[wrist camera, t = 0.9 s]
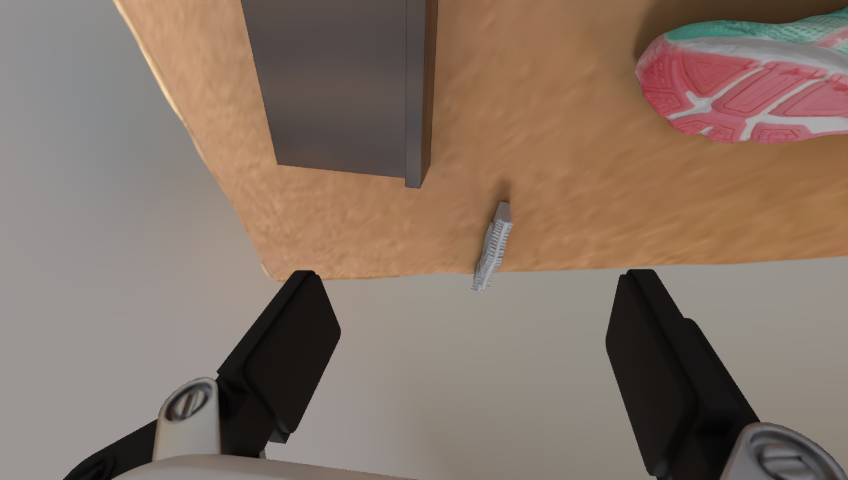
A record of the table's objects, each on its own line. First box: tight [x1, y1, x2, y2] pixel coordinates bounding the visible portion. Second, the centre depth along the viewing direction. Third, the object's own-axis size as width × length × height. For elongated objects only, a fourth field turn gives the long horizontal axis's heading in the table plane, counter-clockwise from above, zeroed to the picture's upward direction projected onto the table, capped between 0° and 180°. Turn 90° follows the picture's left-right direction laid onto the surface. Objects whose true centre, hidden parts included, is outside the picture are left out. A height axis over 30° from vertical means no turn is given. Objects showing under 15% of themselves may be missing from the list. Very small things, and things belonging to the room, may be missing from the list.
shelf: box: [241, 0, 438, 188], centre depth 29 cm, size 24×16×6 cm, turn 178°
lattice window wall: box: [471, 201, 513, 293], centre depth 39 cm, size 12×2×6 cm, turn 170°
